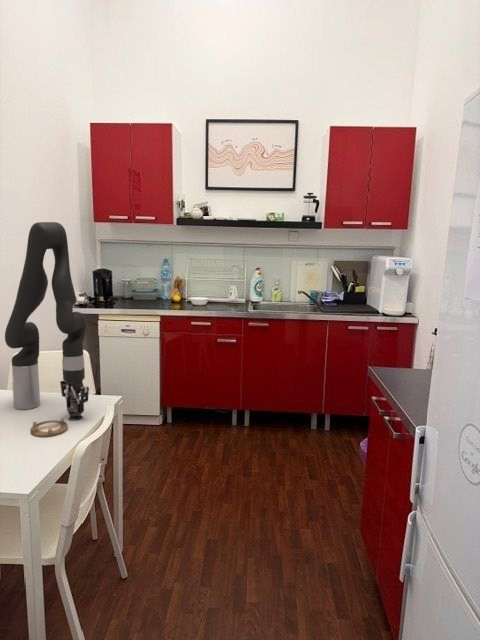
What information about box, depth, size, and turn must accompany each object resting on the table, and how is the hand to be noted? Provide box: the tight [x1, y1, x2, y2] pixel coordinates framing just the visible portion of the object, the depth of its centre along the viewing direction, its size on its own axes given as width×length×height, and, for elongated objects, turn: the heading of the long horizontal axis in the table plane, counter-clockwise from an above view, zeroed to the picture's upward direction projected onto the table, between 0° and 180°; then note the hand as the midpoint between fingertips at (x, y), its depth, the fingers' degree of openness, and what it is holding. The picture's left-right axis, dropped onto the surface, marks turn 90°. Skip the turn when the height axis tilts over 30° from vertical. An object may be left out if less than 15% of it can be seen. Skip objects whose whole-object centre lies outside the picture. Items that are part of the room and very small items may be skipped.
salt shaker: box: [66, 391, 84, 422], centre depth 167 cm, size 6×6×12 cm
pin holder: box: [30, 417, 69, 438], centre depth 157 cm, size 12×12×2 cm
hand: (75, 410), depth 168 cm, fingers closed on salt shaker, 6 cm apart
